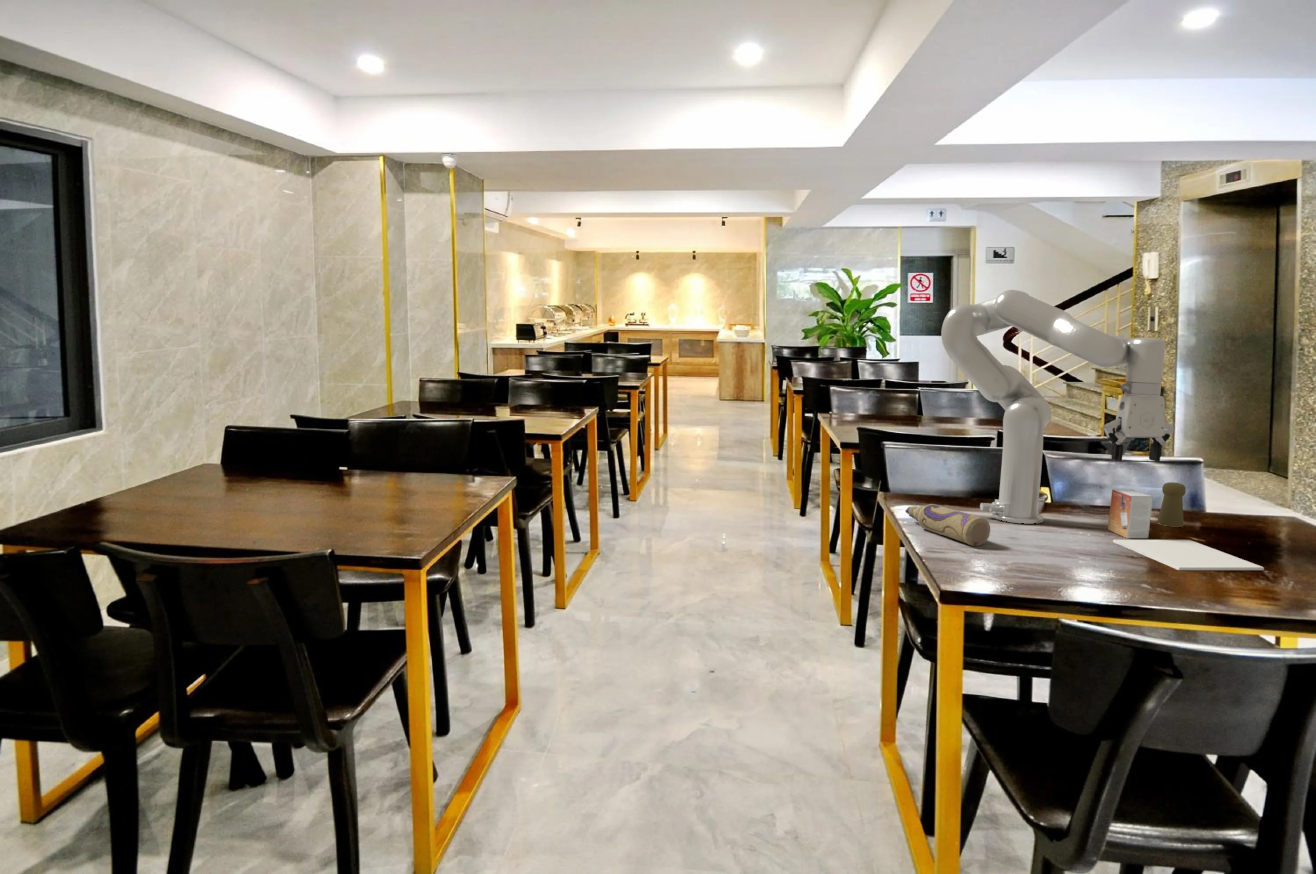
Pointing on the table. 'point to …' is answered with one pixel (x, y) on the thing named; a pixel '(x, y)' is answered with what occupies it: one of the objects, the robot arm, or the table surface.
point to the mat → (1187, 555)
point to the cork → (1172, 505)
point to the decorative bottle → (951, 523)
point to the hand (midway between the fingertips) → (1135, 460)
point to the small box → (1130, 513)
